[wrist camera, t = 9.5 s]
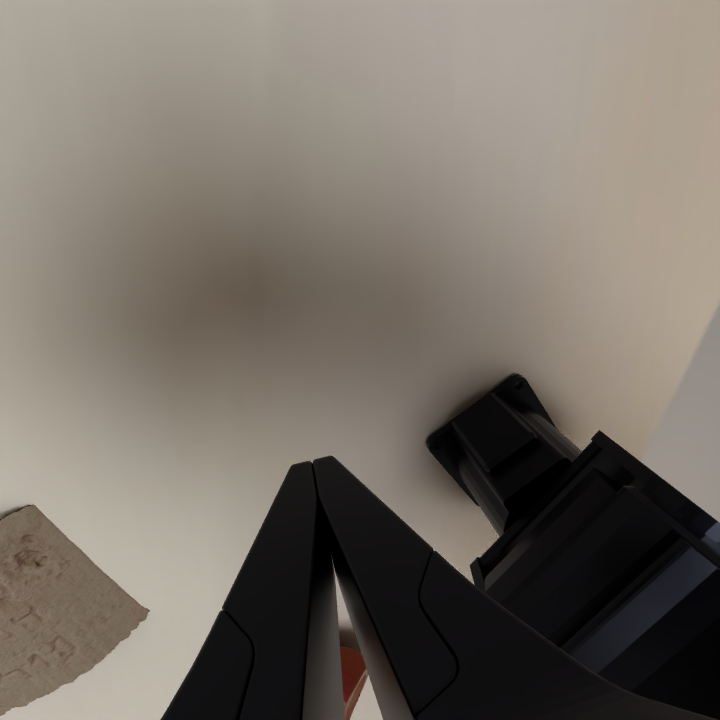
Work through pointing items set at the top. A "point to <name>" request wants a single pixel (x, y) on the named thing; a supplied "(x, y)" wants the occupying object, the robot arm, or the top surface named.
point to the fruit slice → (352, 677)
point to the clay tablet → (53, 610)
